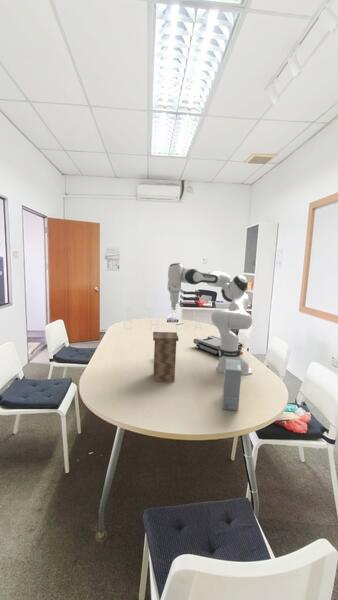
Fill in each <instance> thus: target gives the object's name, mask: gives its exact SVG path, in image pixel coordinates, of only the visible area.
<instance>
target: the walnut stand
mask: <svg viewBox="0 0 338 600" xmlns="http://www.w3.org/2000/svg"><path fill="white" fill-rule="evenodd" d="M152 341H153V342H154V351H153V352H154V353H153V354H154V355H153V382H155V383H157V382H161V383H162V382H164V383H165V382H166V383H168V382H169V383H170V382H171V383H172V382H173V383H175V381H176V357H177V356H176V354H177V342H179V336H178V333H177V332H172V331H171V332H170V331H153V332H152Z"/></svg>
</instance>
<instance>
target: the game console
mask: <svg viewBox="0 0 338 600" xmlns="http://www.w3.org/2000/svg"><path fill="white" fill-rule="evenodd" d="M193 344H195V345H196V347H197V349H198V350H200V351H203V352H206V353H208V354H211V355H212V356H215V357H218V358H219V350H220V345H221V337H217V336H214V335H209V336H207V337H206V338H203V339H201V338H198V337H197V338H193ZM238 349H239V350H240V351H243V344H242V343H240V342H238Z"/></svg>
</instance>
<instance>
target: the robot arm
mask: <svg viewBox="0 0 338 600" xmlns="http://www.w3.org/2000/svg"><path fill="white" fill-rule="evenodd" d="M167 278H168V280H167V289H166V290H167V291H168V292H169V300H170V302H171V308H172V311H175V310H176V306H177V304H178V302H179V298H180V292H181V291H182V283H184V284H189V285H198V284H200V283H203V284H205V283H206V285H208V286H210V287H215V288H221V289H220V292H221V295H222V298H223V299H224V300H225V302H228V303H229V305H228V309H223V308H222V309H215V310H213V312H212V313H211V316H210V318H211V322H212V324H213V325H214V326H215V327H216V328H217V330H218V332H219V335H220V337H219V338H220V339H221V345H220V350H219V357H218V362H217V365H216V369H215V370H216V371H218V372H220V373H221V374H224V372H225V359H232V360H240V364H241V371H242V372H241V376H244V375H252V374H253V371H252V368H251V367H249V362H248V360H247V359H246V358H244V357H243V356H242V355H244V352H243V350H241V351H240V350H239V349H238V343H239V337H238V334H236V333H234V332H233V331H232V329H236V330H248V329H250V328H251V326H252V324H253V317H252V316H251V314H250V313H248V312H247V311H246V310H247V309H248V307H249V303H250V297H249V295H248V294H247V293H246V291H248V285H249V284H248V283H249V282H248V279H247V278H246V277H245V276H243V275H241V274H238V275H236V276H235V277H233V278H232V279H231V276H230V275H229V274H228V273H225V272H224V271H223V272H222V271H219V270H218V271H217V270H211V271H208V272H207V273H206V272H202V271H200V270H199V269H197V268H187V267H185V266H184V265H182V263H179V262H175V263H171V264H170V265H169V267H168V271H167Z"/></svg>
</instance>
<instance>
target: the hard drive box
mask: <svg viewBox="0 0 338 600" xmlns="http://www.w3.org/2000/svg"><path fill="white" fill-rule="evenodd" d="M241 372H242V371H241V364H240V360H232V359H225V372H224V373H223V387H222V388H223V389H222V402H221V403H222V404H221V409H223V410H231V411H235V412H238V411H239V404H240V403H239V402H240V394H241V382H242V375H241Z"/></svg>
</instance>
